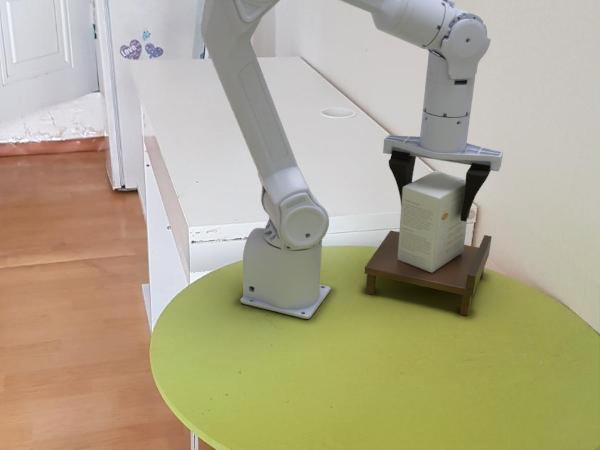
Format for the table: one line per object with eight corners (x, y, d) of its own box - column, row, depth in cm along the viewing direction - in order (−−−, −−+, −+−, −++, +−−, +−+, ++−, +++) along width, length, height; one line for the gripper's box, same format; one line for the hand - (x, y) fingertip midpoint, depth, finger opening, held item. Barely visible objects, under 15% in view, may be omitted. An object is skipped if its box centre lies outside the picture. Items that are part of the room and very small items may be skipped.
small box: (428, 240, 104) (435, 169, 100) (464, 253, 101) (473, 180, 96) (395, 260, 98) (401, 185, 94) (432, 274, 95) (439, 197, 91)
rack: (362, 293, 98) (365, 253, 96) (388, 255, 108) (391, 217, 106) (469, 318, 94) (475, 276, 91) (485, 275, 104) (491, 236, 101)
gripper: (512, 110, 92) (496, 211, 98) (397, 95, 97) (389, 192, 103) (503, 126, 86) (487, 232, 92) (381, 109, 91) (373, 211, 97)
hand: (434, 212), depth 97 cm, fingers open, 7 cm apart
